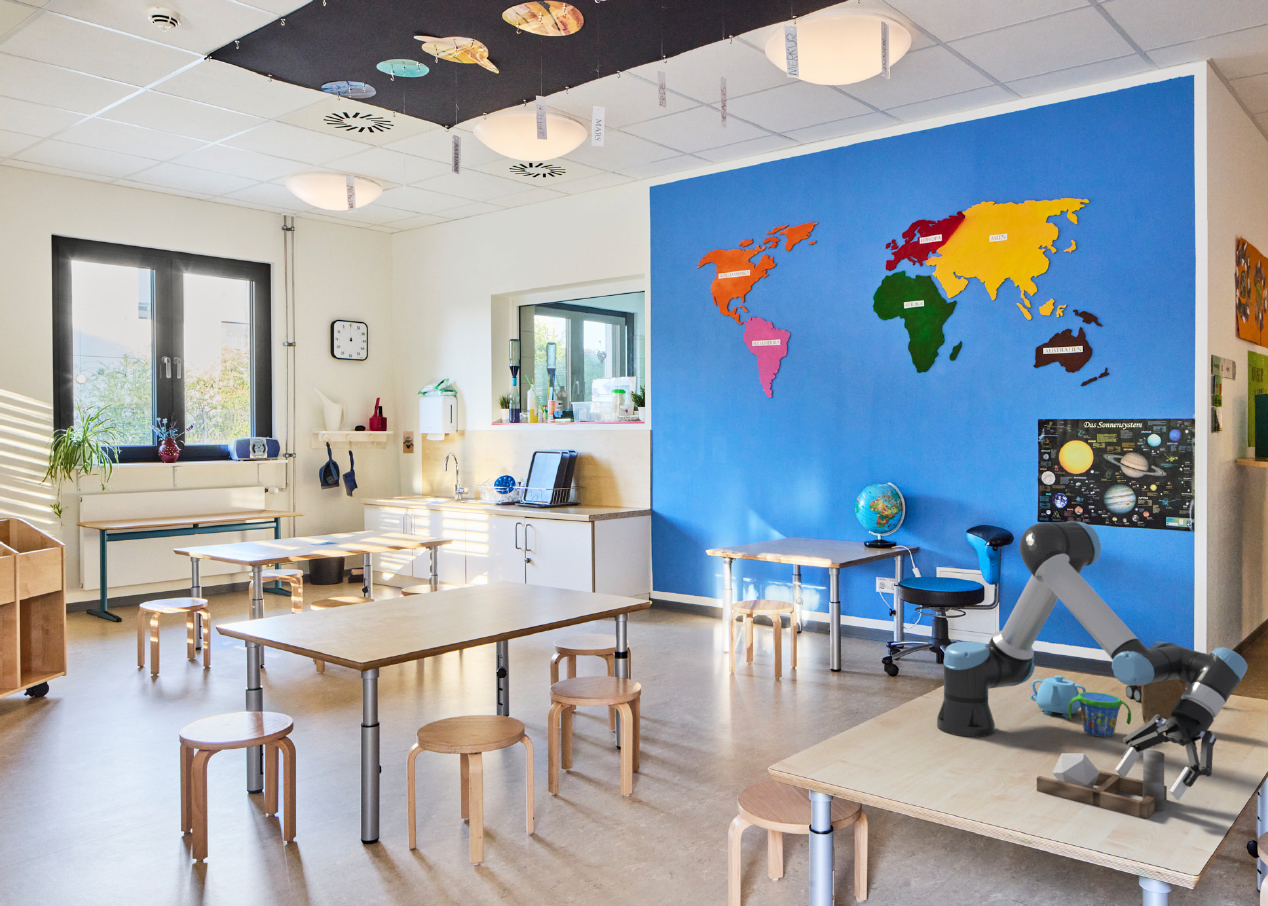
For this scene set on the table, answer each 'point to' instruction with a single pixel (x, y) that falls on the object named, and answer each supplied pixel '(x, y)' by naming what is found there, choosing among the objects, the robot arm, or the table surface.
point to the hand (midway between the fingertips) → (1145, 784)
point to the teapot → (1056, 695)
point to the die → (1076, 770)
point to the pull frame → (1118, 789)
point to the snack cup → (1099, 712)
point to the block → (1161, 698)
